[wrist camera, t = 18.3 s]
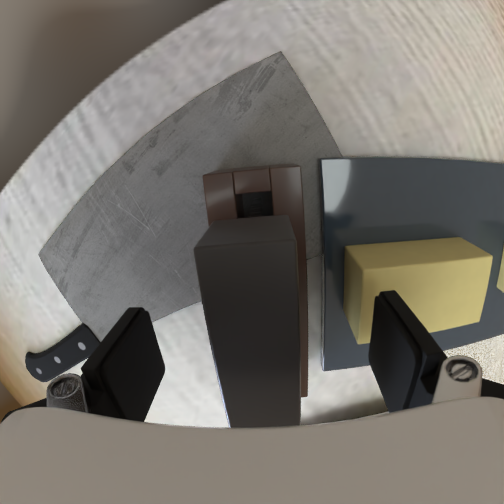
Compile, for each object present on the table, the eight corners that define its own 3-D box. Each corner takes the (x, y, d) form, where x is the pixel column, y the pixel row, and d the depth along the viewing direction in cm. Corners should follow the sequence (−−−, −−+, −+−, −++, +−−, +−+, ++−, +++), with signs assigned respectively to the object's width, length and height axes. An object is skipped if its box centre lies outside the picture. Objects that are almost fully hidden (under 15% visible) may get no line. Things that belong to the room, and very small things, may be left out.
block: (241, 366, 18) (236, 400, 15) (214, 170, 14) (201, 175, 11) (303, 363, 18) (307, 397, 15) (294, 163, 14) (301, 165, 11)
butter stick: (342, 310, 15) (357, 345, 12) (344, 245, 14) (362, 270, 11) (452, 295, 15) (479, 322, 12) (460, 236, 14) (493, 255, 11)
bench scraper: (253, 356, 18) (243, 480, 9) (234, 193, 14) (191, 247, 6) (290, 353, 17) (299, 478, 9) (280, 189, 14) (296, 239, 6)
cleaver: (-18, 297, 18) (46, 387, 21) (-21, 300, 18) (44, 390, 20) (280, 52, 12) (376, 223, 15) (280, 49, 12) (380, 226, 14)
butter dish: (320, 363, 18) (322, 372, 17) (316, 157, 14) (319, 158, 13) (511, 325, 16) (516, 330, 15) (535, 167, 13) (542, 168, 12)
